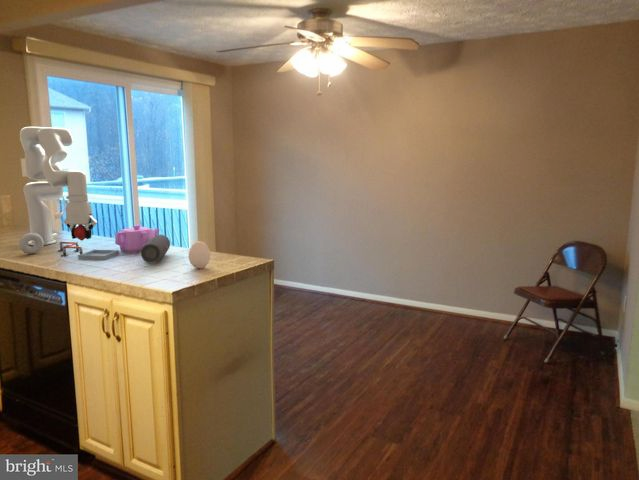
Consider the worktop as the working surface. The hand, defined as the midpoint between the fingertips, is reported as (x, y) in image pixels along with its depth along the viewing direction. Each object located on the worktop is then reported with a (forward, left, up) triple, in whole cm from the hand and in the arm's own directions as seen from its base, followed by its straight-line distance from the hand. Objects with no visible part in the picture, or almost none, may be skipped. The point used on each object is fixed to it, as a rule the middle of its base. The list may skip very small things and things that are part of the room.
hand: (81, 238), depth 210 cm
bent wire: (-5, -9, -8) cm, 13 cm away
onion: (0, 0, -1) cm, 1 cm away
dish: (0, +8, -8) cm, 11 cm away
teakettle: (-17, +18, -9) cm, 26 cm away
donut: (-2, -26, -9) cm, 27 cm away
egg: (+16, +60, -9) cm, 63 cm away
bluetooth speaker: (+3, +36, -9) cm, 37 cm away
